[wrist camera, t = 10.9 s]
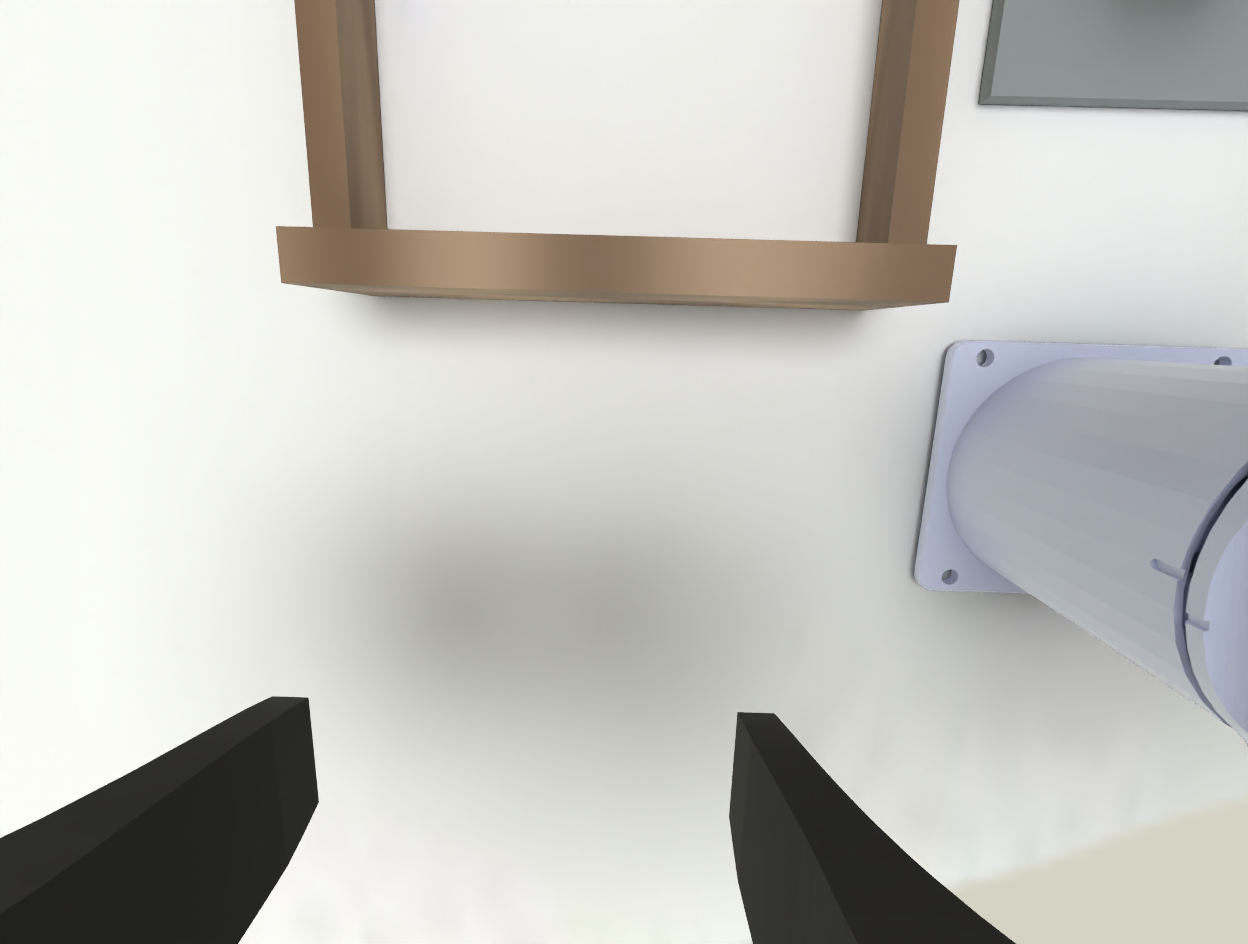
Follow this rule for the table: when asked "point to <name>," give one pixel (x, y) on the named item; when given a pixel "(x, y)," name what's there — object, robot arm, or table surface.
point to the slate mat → (1118, 54)
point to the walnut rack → (621, 265)
